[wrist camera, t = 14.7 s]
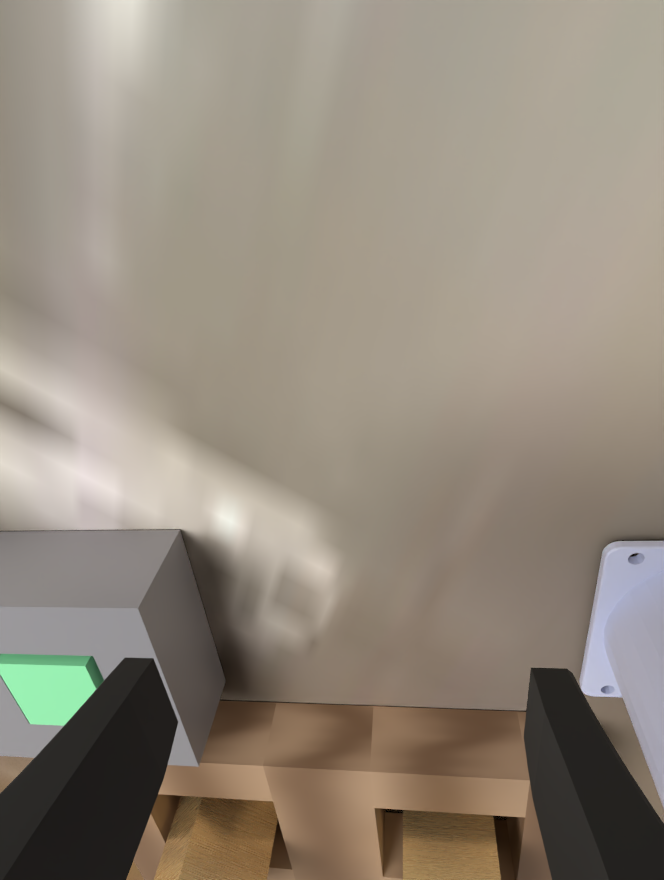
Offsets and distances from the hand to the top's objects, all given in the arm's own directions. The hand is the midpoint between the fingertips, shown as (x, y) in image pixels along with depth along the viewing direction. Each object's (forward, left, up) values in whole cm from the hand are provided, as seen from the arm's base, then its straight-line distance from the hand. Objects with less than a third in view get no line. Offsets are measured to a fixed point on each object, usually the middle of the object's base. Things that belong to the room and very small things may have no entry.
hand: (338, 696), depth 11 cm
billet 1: (+9, +20, -10) cm, 24 cm away
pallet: (+3, +20, -9) cm, 22 cm away
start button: (+12, +8, -8) cm, 17 cm away
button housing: (+12, +8, -9) cm, 17 cm away
